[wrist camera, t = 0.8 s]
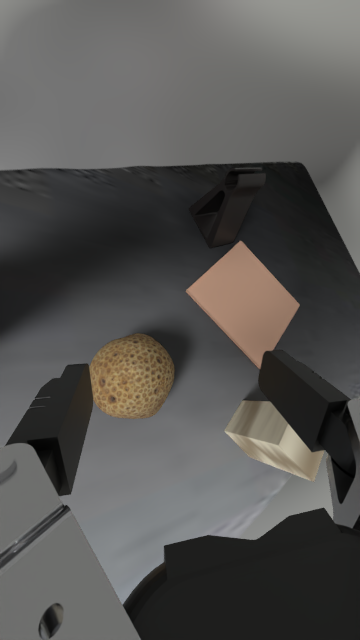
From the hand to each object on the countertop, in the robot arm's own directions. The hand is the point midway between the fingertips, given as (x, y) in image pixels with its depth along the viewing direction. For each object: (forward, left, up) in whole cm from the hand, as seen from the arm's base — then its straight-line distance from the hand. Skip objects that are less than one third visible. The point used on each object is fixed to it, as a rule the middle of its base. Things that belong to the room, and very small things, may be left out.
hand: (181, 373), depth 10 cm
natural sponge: (0, +1, -20) cm, 20 cm away
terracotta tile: (+6, +26, -20) cm, 33 cm away
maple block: (+18, +8, -20) cm, 28 cm away
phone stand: (-9, +32, -20) cm, 39 cm away
